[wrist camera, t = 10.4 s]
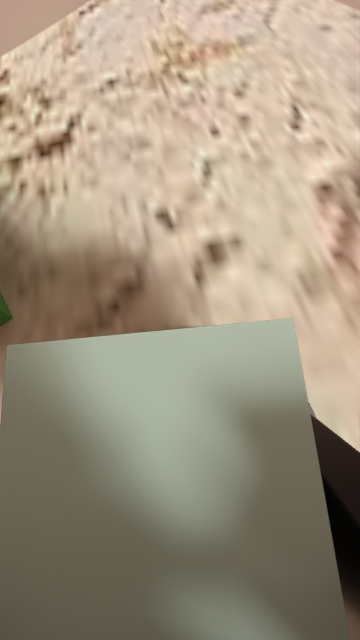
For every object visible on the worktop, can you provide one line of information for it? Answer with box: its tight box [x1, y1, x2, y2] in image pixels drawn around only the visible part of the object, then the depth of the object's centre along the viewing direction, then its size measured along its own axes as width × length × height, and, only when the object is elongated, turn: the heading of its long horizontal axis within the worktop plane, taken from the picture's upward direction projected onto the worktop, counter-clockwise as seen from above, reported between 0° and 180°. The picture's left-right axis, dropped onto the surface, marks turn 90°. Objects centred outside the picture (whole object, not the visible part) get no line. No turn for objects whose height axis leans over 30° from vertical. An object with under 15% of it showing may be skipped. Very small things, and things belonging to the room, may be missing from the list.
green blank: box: [0, 318, 350, 640], centre depth 10 cm, size 5×5×10 cm
